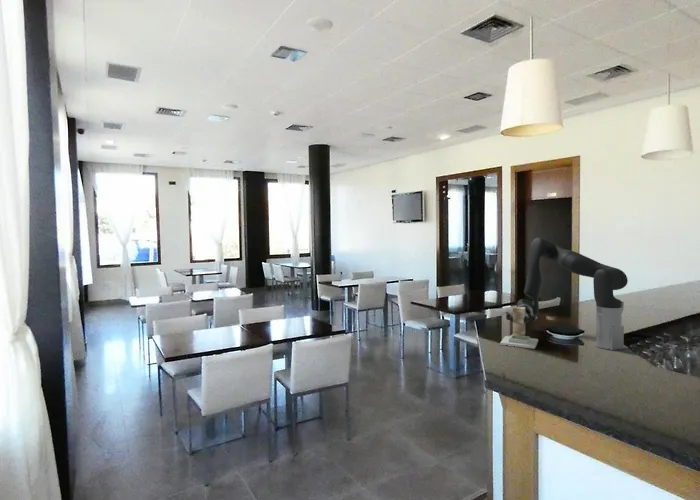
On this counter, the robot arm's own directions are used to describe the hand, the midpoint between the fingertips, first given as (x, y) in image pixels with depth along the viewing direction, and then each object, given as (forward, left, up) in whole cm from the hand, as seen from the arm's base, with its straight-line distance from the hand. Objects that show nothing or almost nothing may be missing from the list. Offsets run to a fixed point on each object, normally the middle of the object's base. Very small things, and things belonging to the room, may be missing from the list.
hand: (518, 320), depth 185 cm
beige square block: (+2, -2, -7) cm, 7 cm away
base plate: (+2, -2, -11) cm, 11 cm away
